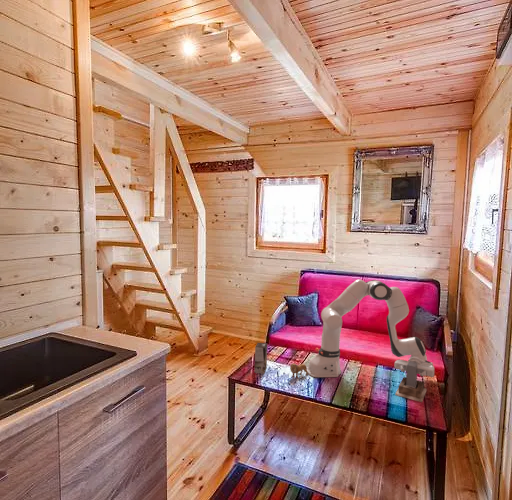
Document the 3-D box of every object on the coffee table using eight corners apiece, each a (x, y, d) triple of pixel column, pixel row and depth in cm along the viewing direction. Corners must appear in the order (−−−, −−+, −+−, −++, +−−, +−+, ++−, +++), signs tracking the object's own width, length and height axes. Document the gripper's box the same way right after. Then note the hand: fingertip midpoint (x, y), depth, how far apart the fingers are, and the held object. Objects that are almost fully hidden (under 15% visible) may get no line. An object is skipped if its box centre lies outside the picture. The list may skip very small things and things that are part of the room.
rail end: (405, 392, 178) (406, 365, 177) (408, 387, 184) (409, 360, 183) (414, 394, 175) (415, 367, 174) (416, 389, 181) (417, 362, 180)
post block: (395, 394, 176) (395, 385, 176) (401, 384, 190) (401, 375, 189) (422, 402, 169) (422, 392, 169) (426, 390, 182) (426, 381, 182)
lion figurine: (294, 381, 190) (294, 366, 190) (287, 378, 194) (287, 363, 194) (310, 374, 200) (310, 359, 200) (303, 371, 204) (303, 357, 204)
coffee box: (264, 374, 199) (265, 347, 198) (254, 372, 200) (254, 346, 200) (267, 368, 208) (267, 343, 207) (257, 367, 209) (257, 342, 209)
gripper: (397, 355, 195) (391, 362, 184) (436, 363, 184) (433, 371, 172) (396, 365, 196) (391, 373, 184) (435, 374, 184) (432, 383, 173)
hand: (411, 372), depth 178 cm, fingers open, 8 cm apart
